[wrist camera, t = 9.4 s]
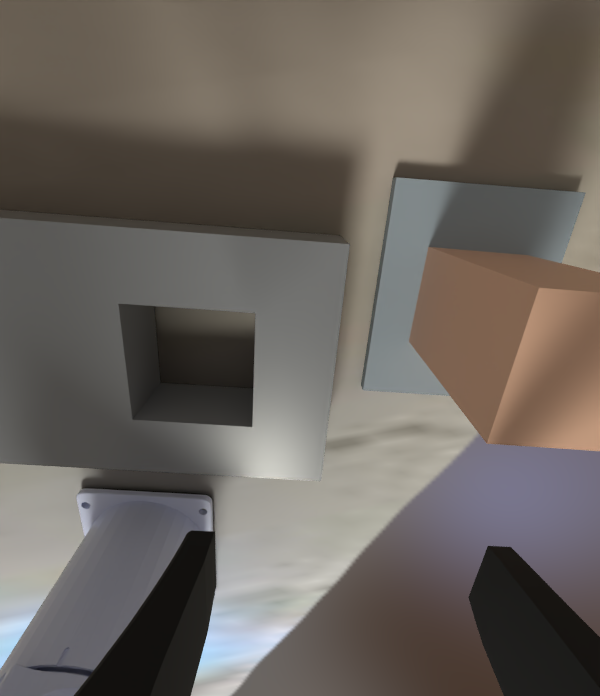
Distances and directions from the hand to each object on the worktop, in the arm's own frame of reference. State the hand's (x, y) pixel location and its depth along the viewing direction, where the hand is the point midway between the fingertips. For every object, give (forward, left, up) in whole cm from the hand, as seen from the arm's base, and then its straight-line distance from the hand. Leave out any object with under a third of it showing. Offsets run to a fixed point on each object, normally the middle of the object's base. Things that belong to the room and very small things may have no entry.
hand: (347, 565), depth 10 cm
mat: (+5, -6, -10) cm, 13 cm away
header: (+2, +8, -10) cm, 13 cm away
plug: (+5, -6, -10) cm, 13 cm away
